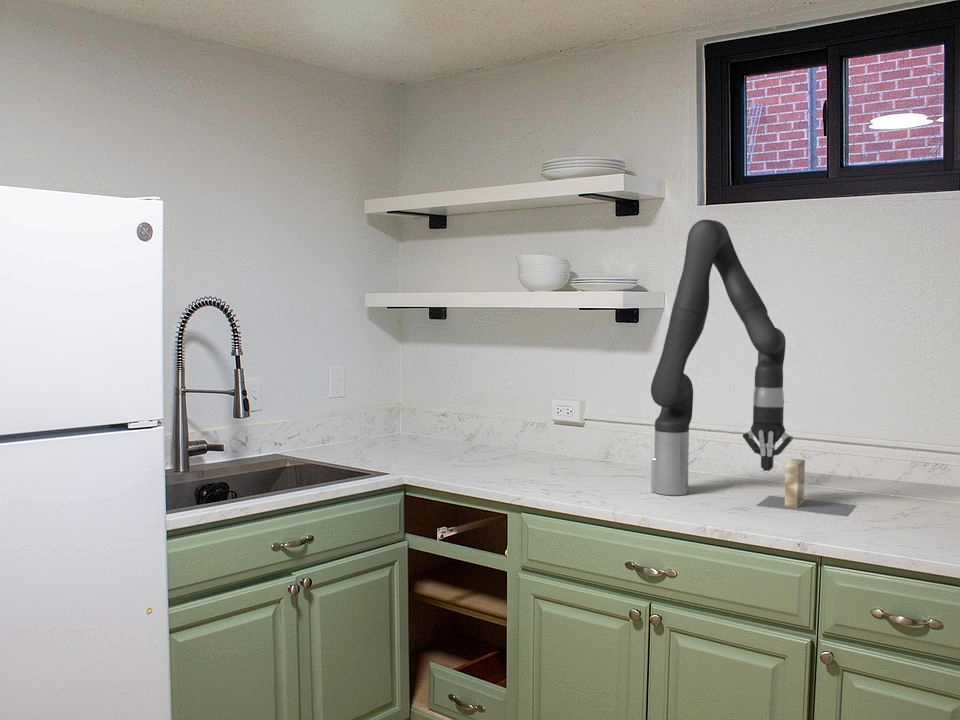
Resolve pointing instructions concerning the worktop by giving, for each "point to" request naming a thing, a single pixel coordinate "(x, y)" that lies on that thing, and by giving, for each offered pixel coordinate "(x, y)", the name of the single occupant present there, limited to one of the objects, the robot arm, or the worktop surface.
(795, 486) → the cream brown rectangular block
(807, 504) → the rubber mat
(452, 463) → the worktop surface
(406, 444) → the worktop surface
